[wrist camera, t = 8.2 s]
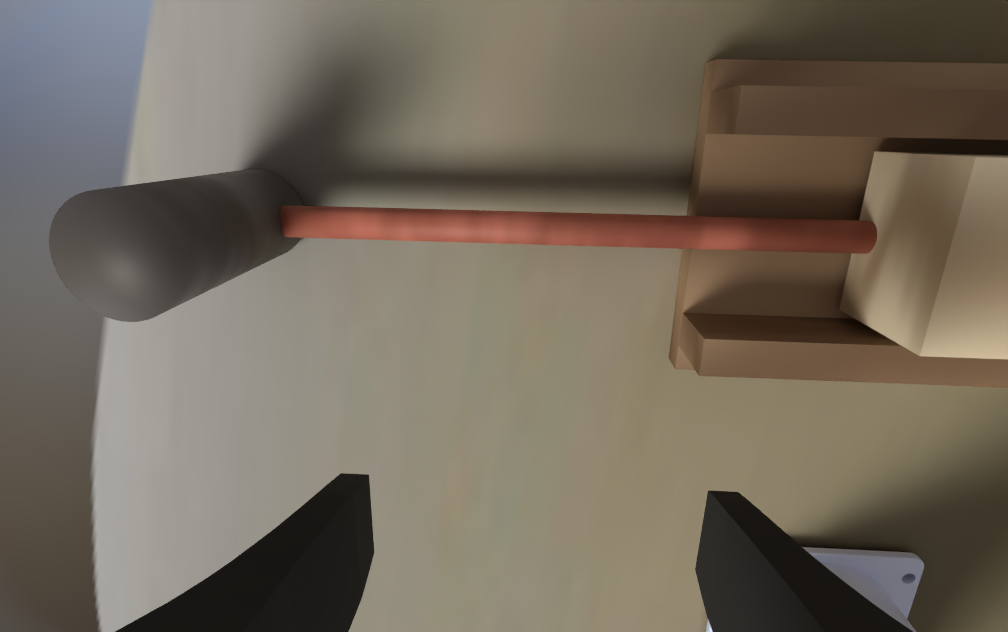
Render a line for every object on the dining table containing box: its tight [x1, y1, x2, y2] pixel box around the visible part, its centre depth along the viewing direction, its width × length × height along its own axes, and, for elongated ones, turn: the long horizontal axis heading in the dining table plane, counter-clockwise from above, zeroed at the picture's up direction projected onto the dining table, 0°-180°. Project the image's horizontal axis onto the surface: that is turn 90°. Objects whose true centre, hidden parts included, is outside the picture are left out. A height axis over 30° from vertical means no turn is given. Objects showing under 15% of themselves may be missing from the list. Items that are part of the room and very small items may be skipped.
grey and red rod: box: [49, 151, 1008, 359], centre depth 15 cm, size 5×27×7 cm, turn 89°
